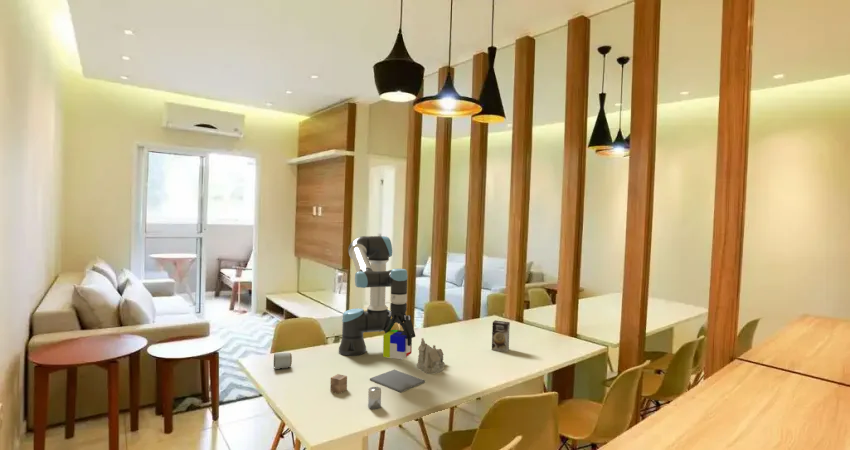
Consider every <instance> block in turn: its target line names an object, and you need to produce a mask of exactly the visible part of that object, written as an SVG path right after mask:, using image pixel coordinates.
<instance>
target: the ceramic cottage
mask: <svg viewBox="0 0 850 450" xmlns="http://www.w3.org/2000/svg"><path fill="white" fill-rule="evenodd" d="M445 366H446V364H445V361H444V352H443V350H442V348H438V349H437V348H436V345H435V344H433V345H432V346H430V345H429V344H427V343H426V342H425V339H424V338H423V337H422V338H421V342H420V345H419V347H418V356H417V364H416V368H417V369H418V370H420V371H421V372H423V373H425V374H430V375H432V374H433V375H434V374H438V373H441V372H442V371H443V370H444V368H445Z"/></svg>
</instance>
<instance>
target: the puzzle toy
mask: <svg viewBox="0 0 850 450" xmlns="http://www.w3.org/2000/svg"><path fill="white" fill-rule="evenodd" d="M406 338H407V337H406V335H405V332H404V330H401V329H400V330H399V329H391V330H390V331H389V332H387V333H386V334H385V333H384V334H383V337H382V339H383V341H382V342H383V343H382V344H383V345H382V347H383V348H382V352H383V353H382V357H383V358H387V359H388V358H389V359H396V360H405V359H406V358H407V357H409V356H410V355H411V354H412V345H411V352H409V353H405V339H406Z"/></svg>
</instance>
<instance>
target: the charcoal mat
mask: <svg viewBox="0 0 850 450" xmlns="http://www.w3.org/2000/svg"><path fill="white" fill-rule="evenodd" d="M369 381H371V382H374V383H375V384H378V385H380V386H383V387H386V388H388V389H391V390H394V391H396V392H399V393H402V392H403V393H404V392H406V391H407V390H410V389H412V388H414V387H417V386H420V385H421V384H425V382H426V380H425V379H422V378H419V377H417V376H414V375H412V374H408V373H406V372H403V371H400V370H397V369H392V370H389V371H387V372H384V373H381V374H378V375H375V376H373V377H370V378H369Z"/></svg>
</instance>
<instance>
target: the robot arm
mask: <svg viewBox="0 0 850 450" xmlns="http://www.w3.org/2000/svg"><path fill="white" fill-rule="evenodd" d="M347 252H348V256H349V257H350V259H352V263H353V264H354V267H355V270H356V272H355V274H354V285H355V286H356V288H361V289H365V288H370V290H369V291H370V292H369V294H370V295H369V305H368V306H367V307H366V308H367V310H365V309H363V308H358V307H357V308H351V309H348V310H345V311H344V312H343V313H342V318H341V322H342V327H341V328H342V329H341V330H342V335H341V341H340V343H339V344H340V345H339V346H338V353H339V354H340V355H343V356H347V357H348V356H351V357H352V356H360V355H363V354H365V353H366V352H367V346H366V343H365V340H364V339H365V338H364V334H365V333H373V332H375V333H376V332H379V333H381V332H384V334H386V333H387V332H389V331H391V330H392V328H393V327H394V326H395V323H396V324H399V325H400V326H401V328H402V331H404V332H405V335H406V337H407V338H406V339H405V353H409V352H411V345H412V344H413V343H412V341H413V340H412V339H413V338H416V333H415V330H414V325H413V322H412V315H409V314H408V315H407V313H406V312H407V311H408V310H407V308H408V304H407V302H408V270H407V269H406V268H393V269H389V270H387V262H389V261H390V258H391V257H392V256H393V244H392V241H391V239H390V237H388V236H382V235H374V236H372V235H364V236H359V237H356V238H355V239H353V240H352V241H351V242H350V244H349V245H348V249H347ZM389 287H390V302H391V303H390V308H389V307H388V306H387V305H386V288H389ZM389 309H390V310H389Z"/></svg>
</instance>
